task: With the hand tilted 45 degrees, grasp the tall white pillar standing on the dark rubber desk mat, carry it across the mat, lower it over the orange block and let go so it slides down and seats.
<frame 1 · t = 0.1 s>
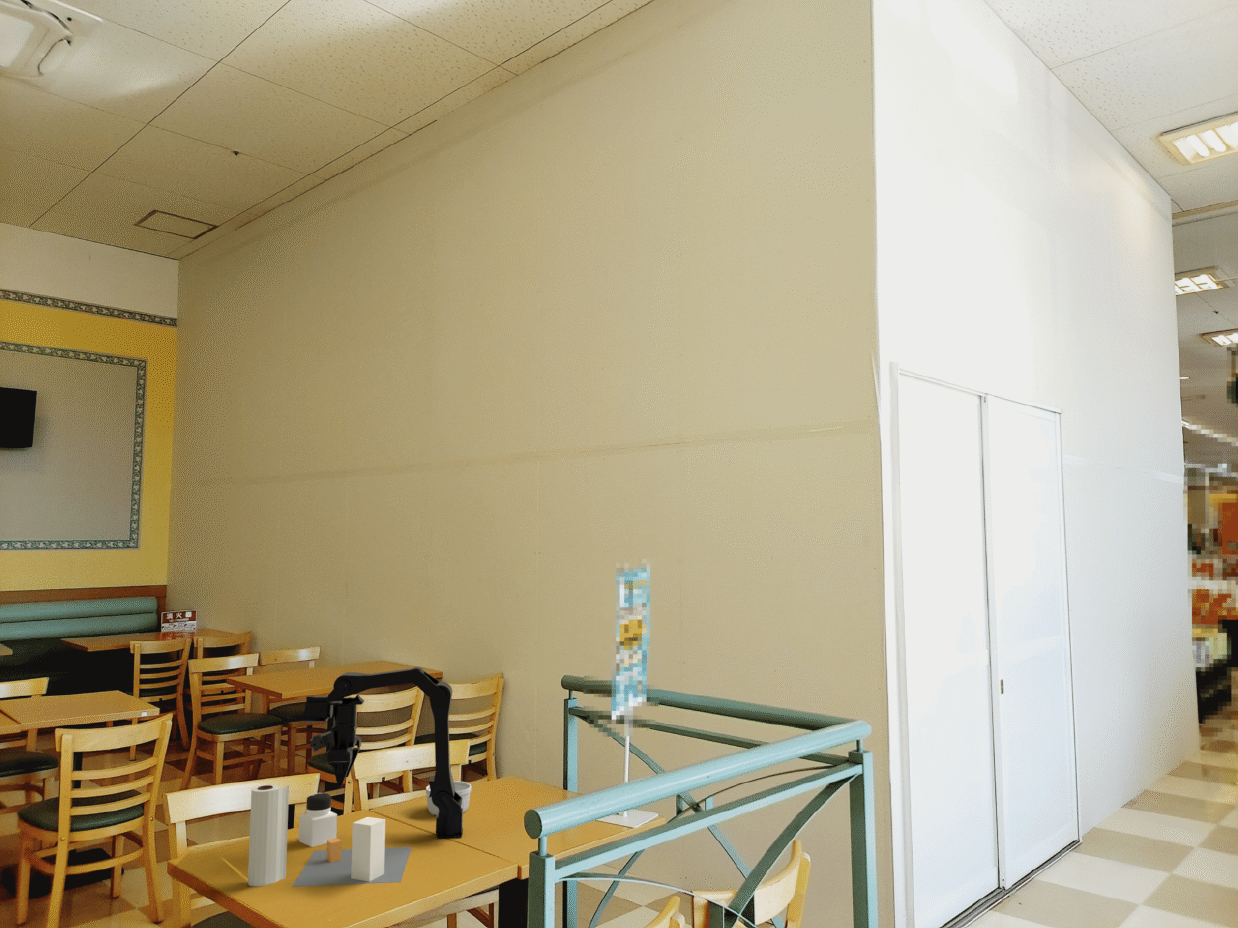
hand: (342, 781, 236), 15 cm above the table, tool pointing down, fingers open, 9 cm apart
medicine bottle: (317, 842, 232), on the table
paper towel roll: (264, 883, 203), on the table
tall white pillar: (367, 875, 207), resting on mat
orange block: (333, 859, 217), resting on mat
ramekin: (448, 811, 259), on the table
mat: (355, 866, 213), on the table
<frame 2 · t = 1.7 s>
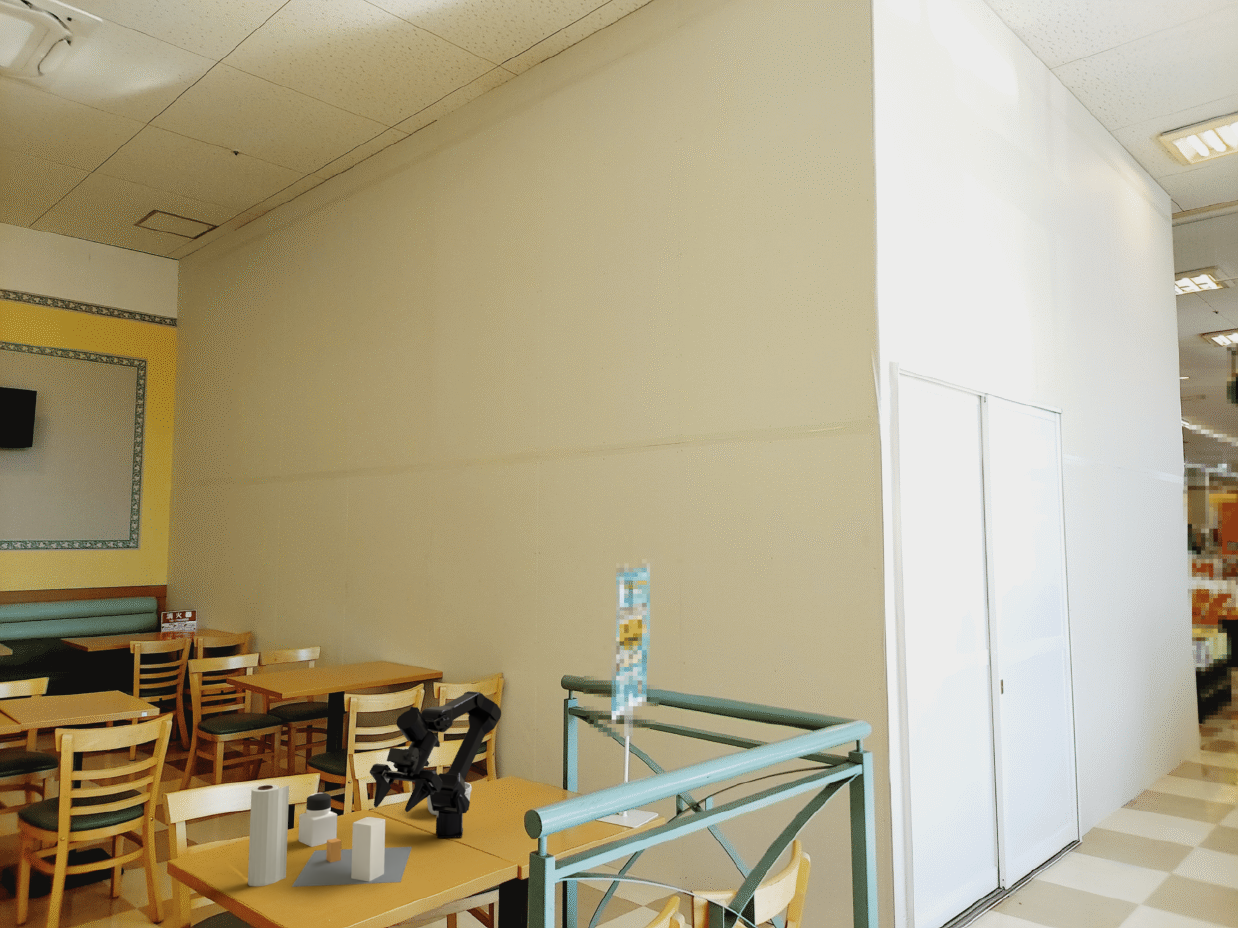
hand: (390, 808, 215), 13 cm above the table, tool tilted 45°, fingers open, 9 cm apart
nothing on the table moved.
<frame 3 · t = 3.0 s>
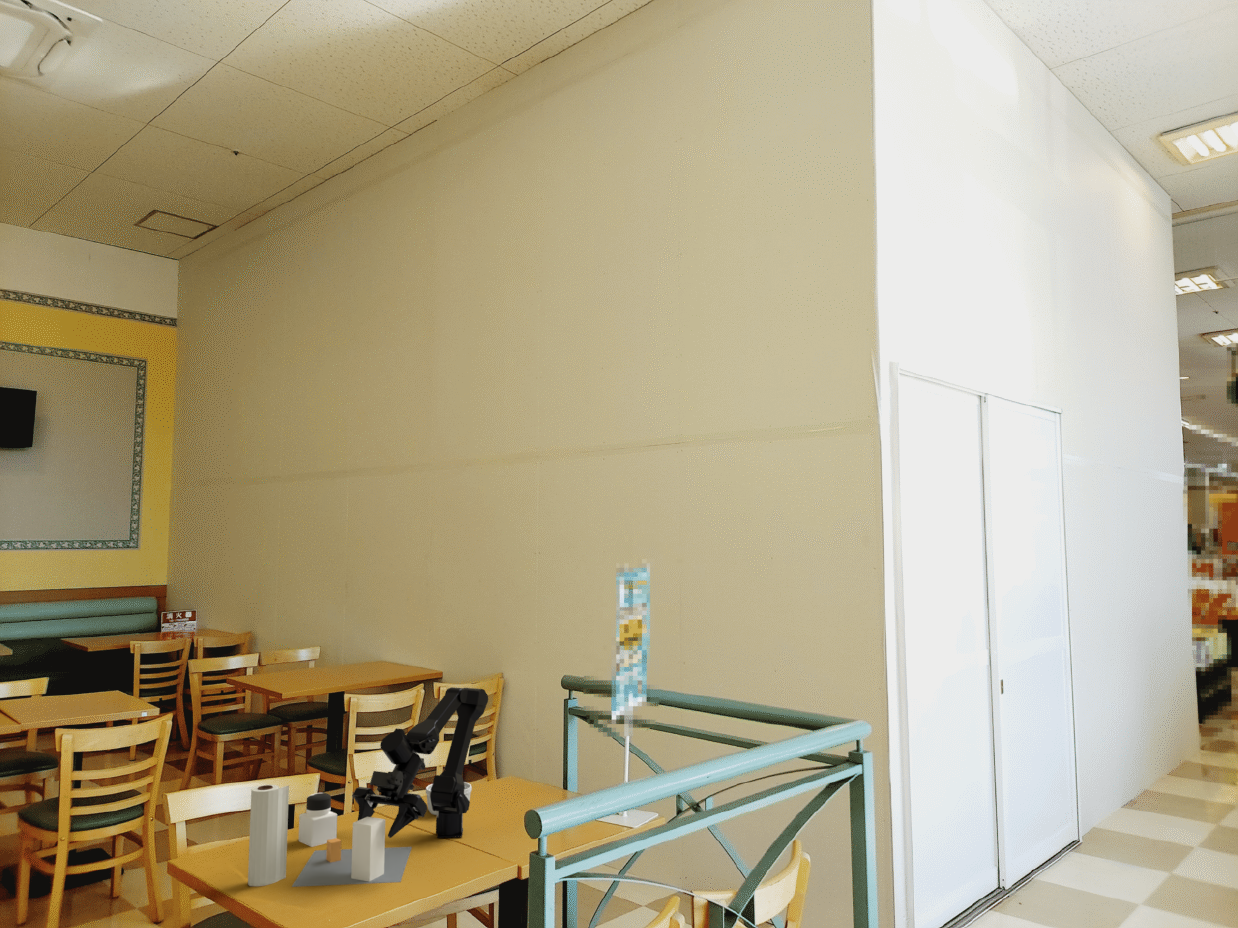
hand: (373, 834, 209), 9 cm above the table, tool tilted 45°, fingers open, 9 cm apart
nothing on the table moved.
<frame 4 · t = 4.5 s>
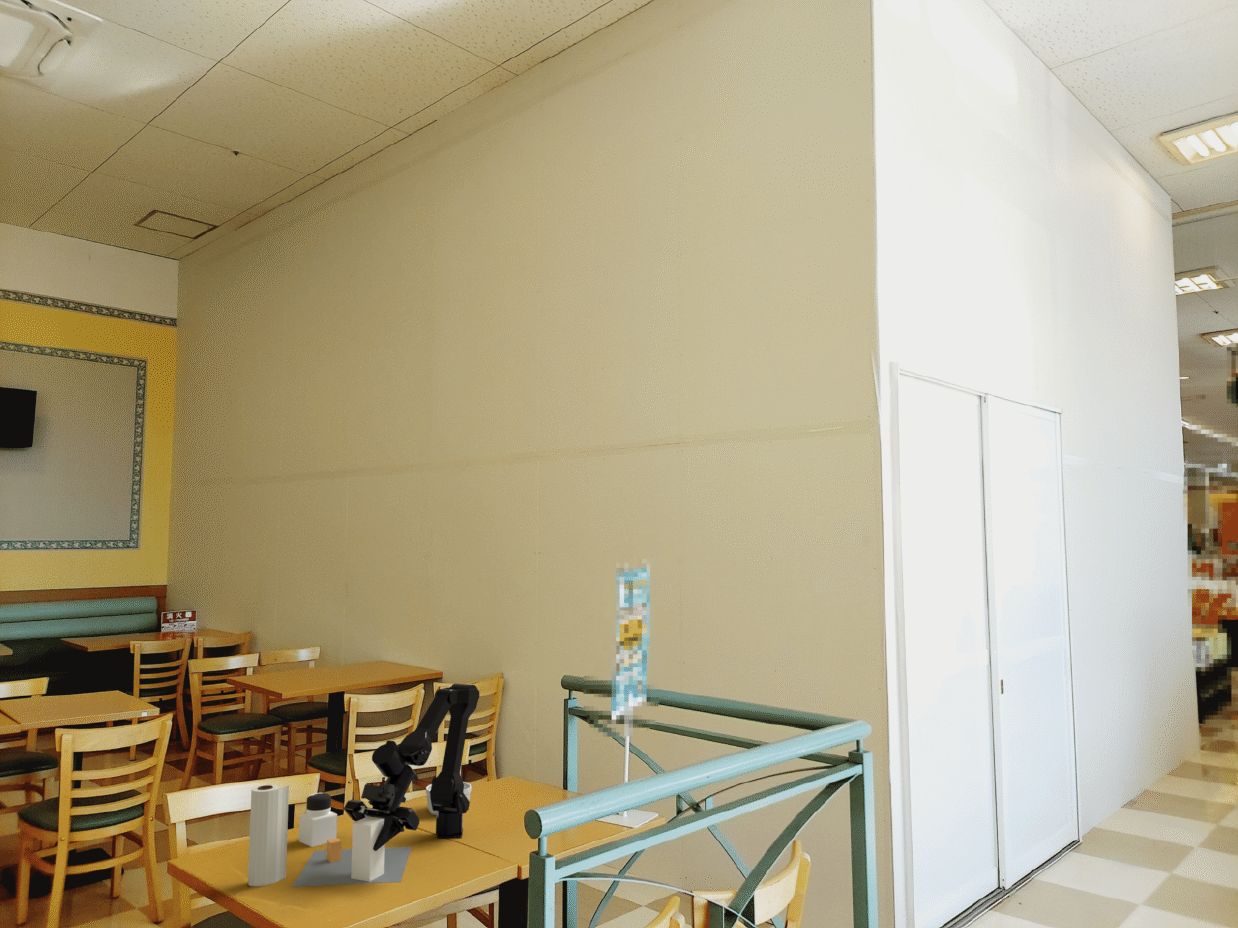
hand: (364, 848, 206), 7 cm above the table, tool tilted 45°, fingers closed on tall white pillar, 5 cm apart
tall white pillar: (367, 875, 207), resting on mat, touching gripper
everything else where it was.
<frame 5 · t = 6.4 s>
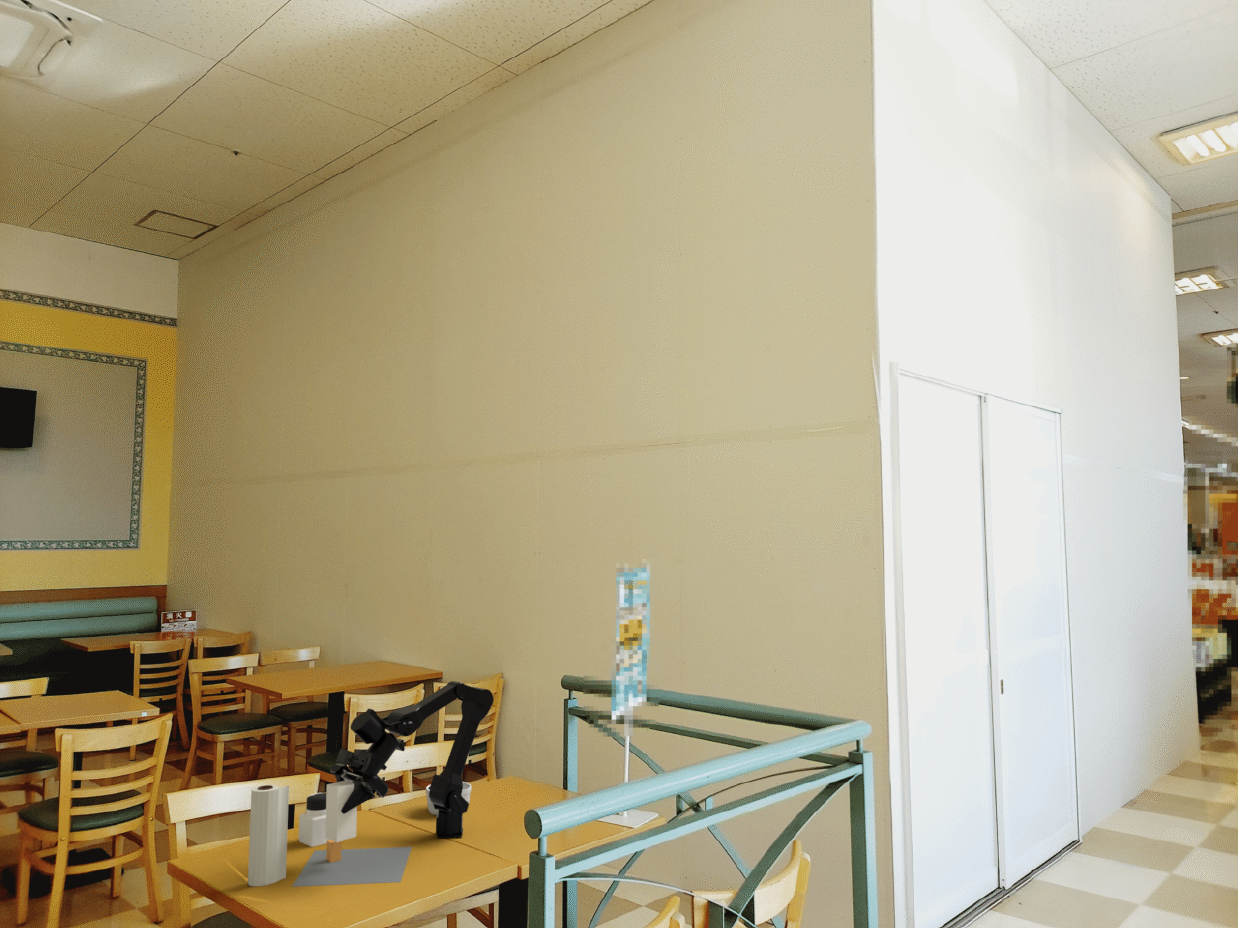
hand: (336, 810, 214), 13 cm above the table, tool tilted 45°, fingers closed on tall white pillar, 5 cm apart
tall white pillar: (340, 836, 214), point 7 cm above the table, touching gripper
everything else where it was.
when the fingers open (8 cm above the table, at t = 8.4 s): tall white pillar drops 1 cm, resting on mat.
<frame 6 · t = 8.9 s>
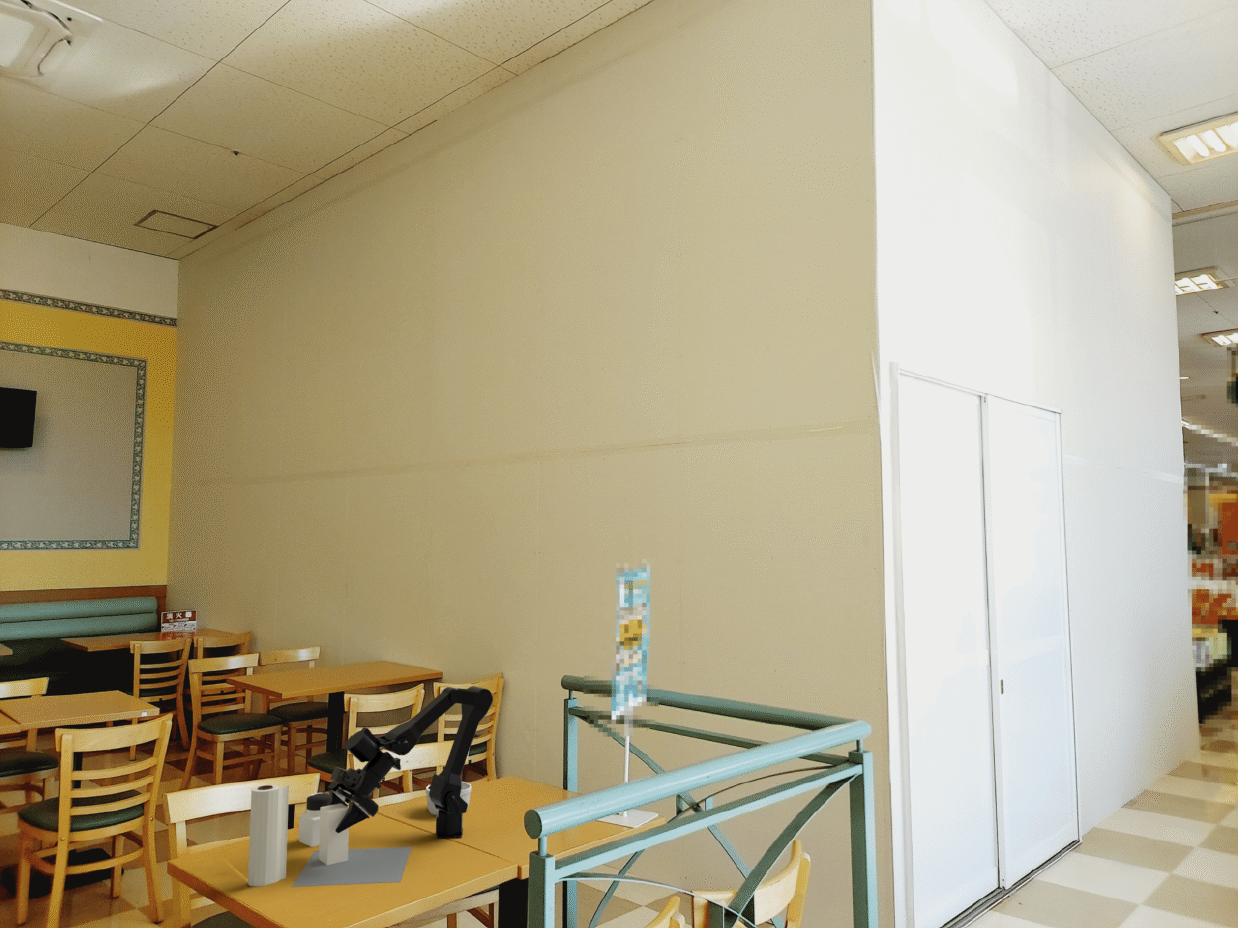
hand: (329, 827, 217), 8 cm above the table, tool tilted 45°, fingers open, 9 cm apart
tall white pillar: (333, 859, 217), resting on mat
everything else where it was.
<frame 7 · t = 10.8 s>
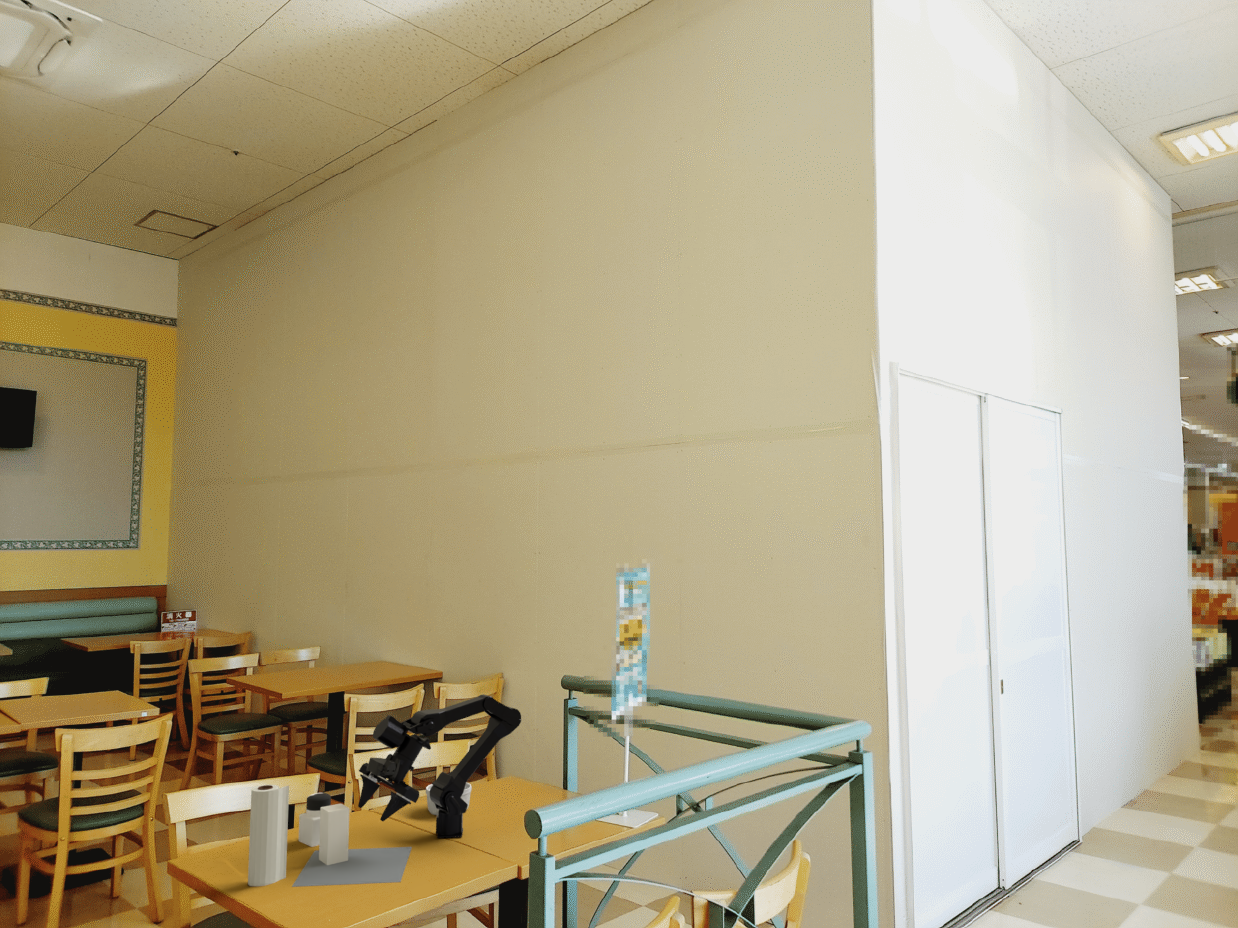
hand: (370, 813, 225), 9 cm above the table, tool tilted 35°, fingers open, 9 cm apart
nothing on the table moved.
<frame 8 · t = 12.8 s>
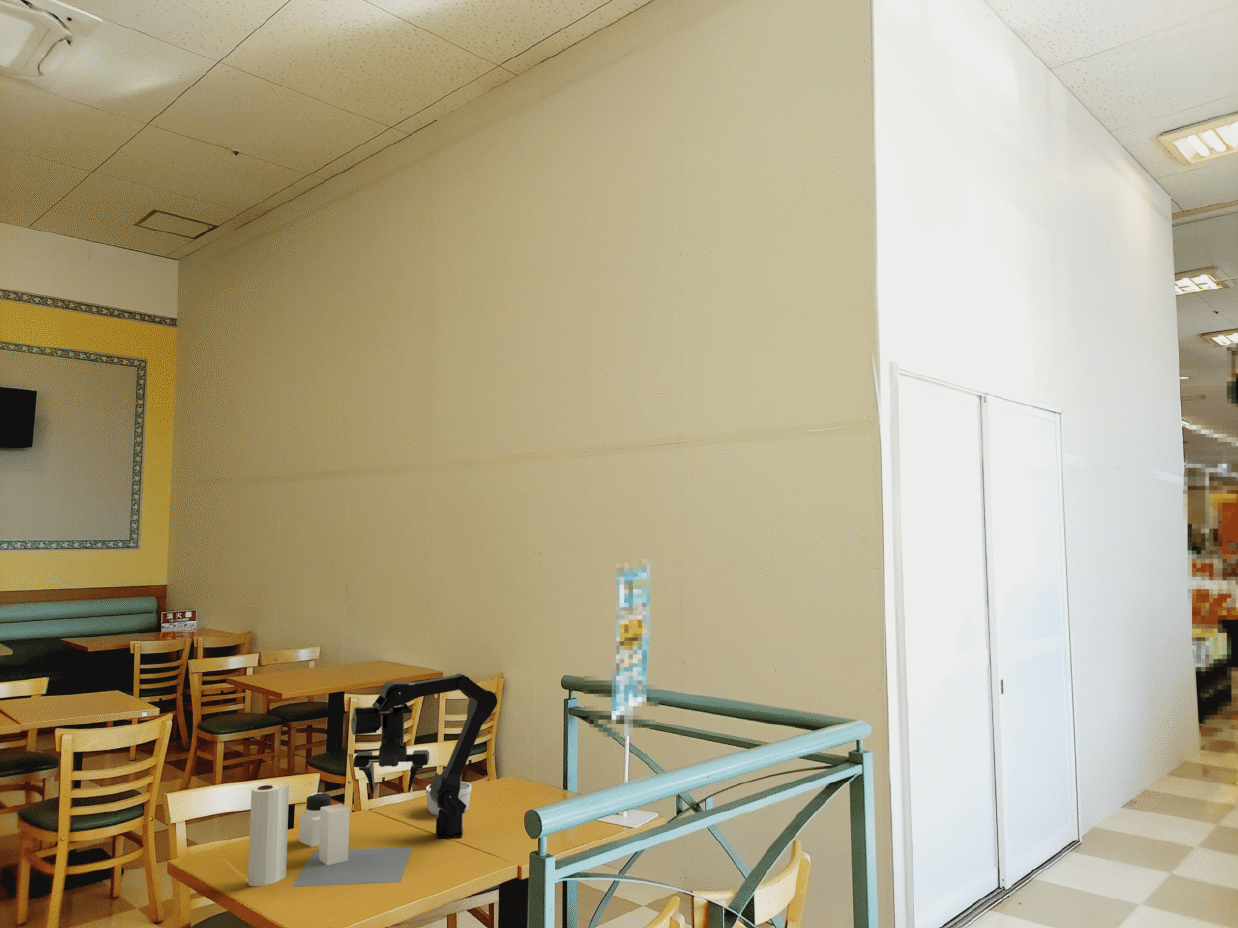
hand: (391, 792, 231), 13 cm above the table, tool pointing down, fingers open, 9 cm apart
nothing on the table moved.
at the end: tall white pillar 0.0 cm from the orange block (horizontally); tall white pillar resting on mat; the gripper is holding nothing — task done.
